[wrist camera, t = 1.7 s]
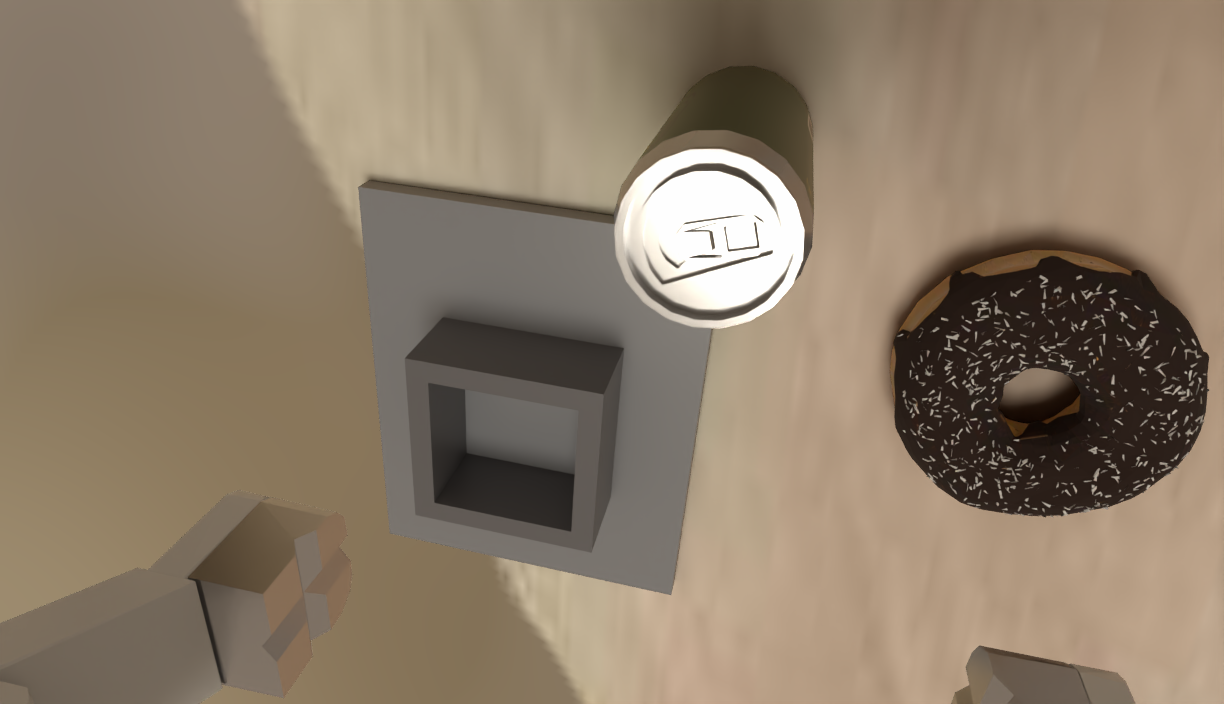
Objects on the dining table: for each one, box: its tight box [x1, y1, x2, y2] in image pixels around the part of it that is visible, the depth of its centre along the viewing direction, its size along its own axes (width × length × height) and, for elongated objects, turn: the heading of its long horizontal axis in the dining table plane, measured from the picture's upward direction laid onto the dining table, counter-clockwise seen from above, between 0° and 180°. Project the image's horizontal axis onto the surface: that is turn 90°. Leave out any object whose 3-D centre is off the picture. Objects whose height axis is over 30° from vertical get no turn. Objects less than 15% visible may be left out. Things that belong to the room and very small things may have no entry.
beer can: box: [614, 66, 814, 328], centre depth 25 cm, size 5×5×12 cm
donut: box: [890, 250, 1209, 517], centre depth 31 cm, size 11×12×4 cm
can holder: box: [358, 180, 712, 595], centre depth 37 cm, size 20×16×5 cm
